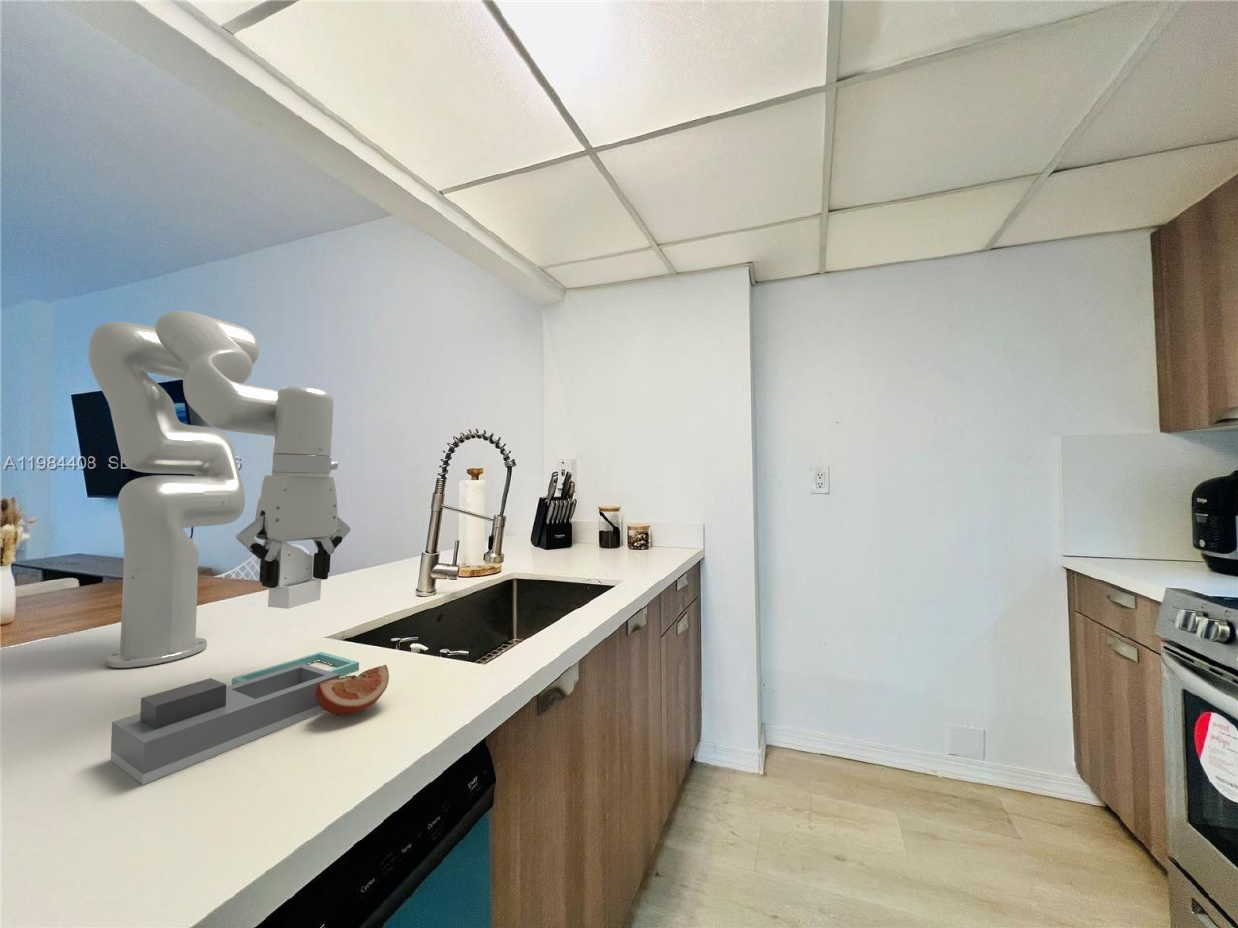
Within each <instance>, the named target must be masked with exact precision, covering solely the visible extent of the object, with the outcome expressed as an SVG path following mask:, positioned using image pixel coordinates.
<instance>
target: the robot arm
mask: <svg viewBox="0 0 1238 928" xmlns="http://www.w3.org/2000/svg"><path fill="white" fill-rule="evenodd" d="M89 339H90V340H89V344H88V345H89V346H88V361H89V365H90V369H91V372H92V374H93V376H94V378H95V380H96V382H97V385H98V386H99V388H100V391H102V393H103V395H104V397H105V399H106V401H107V402H108V407H109V410H110V415H111V419H112V425H113V429H114V433H115V438H116V443H117V446H118V451H119V454H120V457H121V460H122V461H123V464H124V465H125V466H126V467H127V468H129V469H130V470H133V471H135V472H139V473H146V474H147V473H149V474H160V475H148V476H143V477H138V478H135V479H133V480H130V481H128V482H127V483H126V484H125V485H123V486H122V488H121V489H120V491H119V493H118V498H117V507H118V513H119V517H120V518H119V519H120V522H121V527H122V535H123V577H122V578H123V579H122V596H121V597H122V599H121V600H122V601H121V621H120V622H121V624H120V642H119V643H120V647H119V650H117V651H115V652H113V653H111V654H109V655H108V656H107V657H106V661H105V665H106V666H108V667H109V668H117V669H126V668H127V669H128V668H139V667H146V666H151V665H158V664H163V663H167V662H172V661H176V660H180V659H184V658H187V657H190V656H193V655H195V654H198V653H200V652H202V651H204V650H205V649H206V648H207V646H208V645H207V643H208V641H207V639H205V638H202V637H197V635H196V634H197V633H196V632H197V611H198V610H197V609H198V608H197V607H198V586H199V584H198V581H199V580H198V579H199V549H198V547H197V545H196V544H195V542H194V540H192V538H191V537H190V536H189V535H188V533H186V531H185V530H184V529H186V528H197V527H198V528H199V527H208V526H209V527H213V526H223V525H228V524H231V523H233V522H235V521H237V520H238V519H239V518H240V517H241V516H242V514H243V513H244V510H245V506H246V497H245V490H244V485H243V482H242V481H243V480H242V477H241V473H240V470H239V466H238V462H237V458H236V454H235V451H234V448H233V445H232V441H230V439H229V438H228V436H227V435H225V433H223V432H222V431H226V432H233V433H243V434H245V433H246V434H253V435H262V436H263V435H264V436H271V437H273V448H272V449H273V450H272V467H271V474H270V475H266V474H265V476H264V478H263V481H262V484H261V487H260V491H259V495H258V499H257V504H256V505H257V506H256V512H255V518H254V520H253V522H251V523H250V524H249V525H247V526H246V527H245V528H244V529H242V530H241V531H240V532H239V533H237V535H236V536H235V538H236V540H237V541H238V542H239V543H241V544H242V545H243V546H244V547H245V548H246V549H247V550H248V551H249V552H250V553H251V554H253V555H254V556H255V557H256V558H257V559H258V560H260V561H259V563H260V564H259V582H260V583H261V586H262V587H265V588H268V589H269V588H276V587H277V586H278V570H279V561H278V560H275V557H276V555H277V553H278V551H279V549H280V547H281V546H282V544H283V542H287V543H288V542H297V541H309V540H312V542H313V543H314V546H315V548H316V550H317V552H315V553H314V554H313V563H312V578H313V579H320V580H321V581H323V580H328V579H329V573H330V570H331V555H333V553H334V552H335V549H336V548H337V547H338V546H339V545H340V544H341V543H342V541H343V539H345V537H347V535H348V534H349V533H350V532H351V527H350V526H349V525H348V524H347V523H345V521H344V520H342V519H341V518H340V517H339V515H338V498H337V488H336V484H335V483H336V482H335V480H334V477H333V476H331V473H332V470H338V467H339V463H338V461H333V460H332V459H333V458H332V456H331V455H332V442H333V441H332V438H333V419H334V398H333V397H332V395H331V394H330V393H329V392H327V391H325V390H322V389H317V388H313V387H306V386H304V387H303V386H287V387H283V388H280V389H279V390H277V389H274V388H273V389H272V388H267V387H263V386H259V385H257V386H256V385H253V384H247V383H246V381H248V379H249V378H250V376H251V374H252V372H253V365H254V364H255V363H256V362H257V360H258V358H259V355H260V346H259V343H258V340H257V337H256V336H255V335H254V334H253V333H252V332H251V331H250V330H249V329H247V328H245V327H243V326H242V325H240V324H237V323H236V324H235V323H232V322H229V321H225V320H221V319H219V318H215V317H212V316H209V315H205V314H203V313H198V312H195V311H190V310H173V311H170V312H167V313H164V314H163V315H161V316H160V317H159V318H158V319H157V321H156V323H155V326H148V325H146V324H139V323H135V322H127V321H110V322H106V323H105V322H104V323H103V324H100V325H99V326H97V328H95V329H94V330H93V332H92V334H91V337H90V338H89ZM148 373H149V374H154V375H159V376H165V377H170V378H177V379H181V380H182V381H183V382H182V388H183V394H184V399H185V400H186V403H187V404H188V405H189V407H190V408H191V409H192V410H193V411H194V412H195V413H196V414H197V415H198V416H199V417H200V418H201V419H202V420H203V421H204V422H205V423H207V424H208V425H210V426H211V427H209V426H201V425H195V424H194V425H192V424H186V423H183V422H181V421H180V419H179V418H178V415H177V412H176V407H175V403H174V401H173V399H172V398H171V396H170V395H169V394H168V393H167V391H166V390H165V389H164V388H163V387H162V386H161V385H159V383H157V382H156V381H155V380H154V379H152V378H151V377H150V375H148ZM213 427H214V428H213ZM221 430H222V431H221ZM161 474H162V475H161ZM163 474H166V475H163ZM168 474H169V475H168ZM170 474H172V475H170ZM173 474H174V475H173ZM175 474H178V475H175ZM181 474H182V475H181ZM183 474H184V475H183ZM255 538H256V539H259V540H264V541H263V542H262V544H261V543H259V542H258V540H256V539H255Z"/></svg>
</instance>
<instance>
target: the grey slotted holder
mask: <svg viewBox="0 0 1238 928" xmlns="http://www.w3.org/2000/svg"><path fill="white" fill-rule="evenodd" d="M339 678H341V676H340V675H339V674H336V673H333V672H330V671H329V670H325V669H323V668H319V667H316V666H312V665H311V664H308V665H307V664H304V663H302V664H298V665H295V666H292V667H289V668H285V669H282V670H279V671H276V672H272V673H269V674H266V675H263V676H259V677H256V678H253V679H250V680H246V681H243V682H240V683H237V684H233V685H232V684H229V685H227V684H226V683H223V682H221V681H218V680H217V679H214V678H211V677H210V678H206V679H203V680H199V681H195V682H192V683H188V684H185V685H182V686H178V687H175V688H172V689H167V690H165V691H161V692H158V693H157V692H156V693H154V694H150V695H147V696H143V697H141V698H140V712H139V713H137V714H133V715H129V716H127V717H123V718H120V719H117V720H114V721H112V722H111V736H110V737H111V738H110V740H111V741H110V743H111V744H110V761H111V762H112V763H114V765H116V766H117V767H119V768H120V769H121V770H122V771H124V772H125V773H126V774H128V776H130V777H132V778H133V779H134V780H136V782H138V783H139V784H141V785H142V786H144V785H146V784H148V783H151V782H154V781H157V780H159V779H161V778H164V777H166V776H169V775H171V774H173V773H176V772H179V771H181V770H183V769H186V768H188V767H192V766H193V765H195V764H199V763H201V762H203V761H206V760H208V759H211V758H213V757H215V756H218V755H220V754H222V753H225V752H228V751H230V750H232V749H235V748H238V747H239V746H243V745H244V744H248V743H250V742H253V741H254V740H258V739H259V738H262V737H264V736H267V735H269V734H272V733H275V732H277V731H279V730H282V729H284V728H286V727H289V726H292V725H294V724H297V723H299V722H301V721H304V720H307V719H308V718H312V717H313V716H316V715H318V714H321V713H324V712H326V711H325V710H324V709H323V708H322V707H321V706H320V705H319V703H318V701H317V698H316V689H317V687H318V685H319V684H320V683H323V682H325V681H329V680H333V679H339Z"/></svg>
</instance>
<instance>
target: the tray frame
mask: <svg viewBox="0 0 1238 928" xmlns="http://www.w3.org/2000/svg"><path fill="white" fill-rule="evenodd" d="M317 660H320V661H323V662H326V663H325V664H327V663H329V664H328V665H330V664H332V665H331V666H333V665H335V668H331V669H329V670H328V671H330V672H333V673H336V674H339V675H340V677H344V676H347V675H349V674H351V673H354V672H357V671H359V670H360V662H359V661H356V660H354V659H353V660H352V659H350V658H349V659H348V658H345V657H341V656H338V655H335V654H330V653H328V652H327V653H326V652H324V651H319V652H316V653H312V654H309V655H306V656H302V657H299V658H296V659H291V660H289V661H286V662H282V663H279V664H275V665H272V666H269V667H266V668H262V669H259V670H258V669H257V670H256V671H252V672H248V673H246V674H242V675H238V676H235V677H232V678H231V685H233V684H237V683H240V682H243V681H246V680H250V679H253V678H256V677H259V676H263V675H266V674H269V673H272V672H276V671H279V670H282V669H285V668H289V667H292V666H295V665H298V664H302V663H304V664H308V663H311V662H314V661H317ZM320 661H319V662H320ZM323 662H322V663H323ZM308 665H309V664H308ZM337 666H338V667H337Z"/></svg>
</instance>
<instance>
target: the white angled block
mask: <svg viewBox="0 0 1238 928" xmlns="http://www.w3.org/2000/svg"><path fill="white" fill-rule="evenodd" d="M275 560H278V561H279V570H278V586H277V587H276V588H268V596H267V597H268V598H267V599H268V601H267V607H268V608H276V609H278V608H279V609H286V610H287V609H288V610H289V609H293V608H295V607H299V606H302V605H307V604H310V603H312V602H317V601H319V600H321V591H322V588H321V587H322V579H317V578H313V560H314V555H312V554H309V553H307V552H305V551H303V550H301V549H300V548H297V547H296V546H295V545H292V544H290V543H288V541H287V542H283V544H282V546H281V547H280V549H279V551H278V553H277V555H276V557H275Z"/></svg>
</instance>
